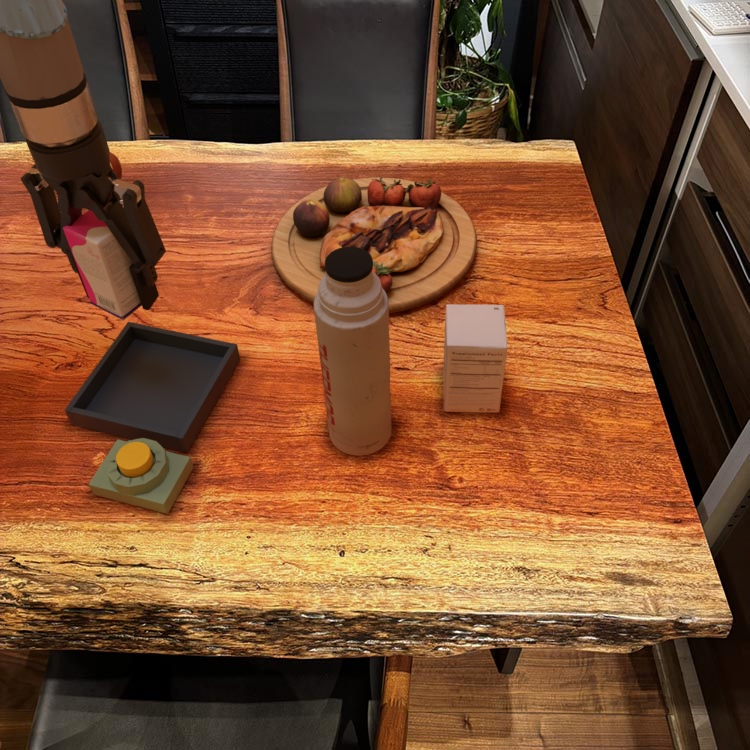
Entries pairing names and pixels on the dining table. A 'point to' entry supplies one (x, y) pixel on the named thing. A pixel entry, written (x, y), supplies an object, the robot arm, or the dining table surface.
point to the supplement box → (103, 266)
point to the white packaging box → (474, 357)
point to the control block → (143, 478)
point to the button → (134, 459)
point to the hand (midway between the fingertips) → (123, 296)
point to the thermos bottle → (354, 352)
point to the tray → (154, 386)
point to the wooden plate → (378, 237)
